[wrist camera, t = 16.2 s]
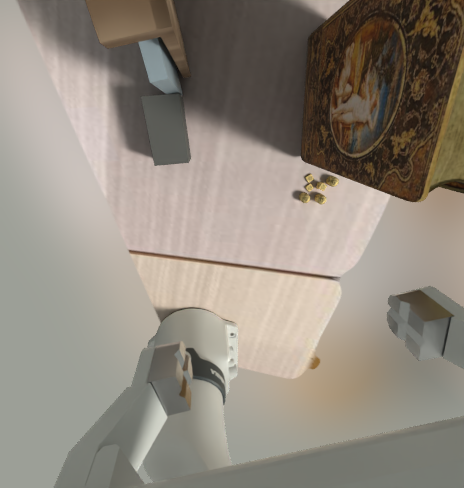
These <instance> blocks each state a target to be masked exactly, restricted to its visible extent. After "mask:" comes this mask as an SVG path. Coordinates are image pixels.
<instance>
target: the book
mask: <svg viewBox="0 0 464 488" xmlns="http://www.w3.org/2000/svg"><path fill="white" fill-rule="evenodd" d="M301 158H302V160H303V161H304V162H306V163H309V164H311V165H314V166H317V167H319V168H322V169H324V170H327V171H330V172H332V173H335V174H337V175H340V176H343V177H345V178H348V179H351V180H353V181H356V182H358V183H361V184H364V185H366V186H369V187H371V188H374V189H377V190H379V191H382V192H385V193H387V194H390V195H392V196H395V197H398V198H400V199H403V200H406V201H410V202H421V201H423V200H425V199H426V197H427V196H428V193H429V192H431V191H432V190H434V189H435V188H437V187H442V188H445V189H449V190H453V191H456V192H460V193H464V0H349V1H348V2H347V3H346V4H345V5H343V6H342V7H341V8H340V9H339V10H338V11H337V12H335V13H334V14H333V15H332V16H331V17H330V18H329V19H328V20H326V21H325V22H324V23H323V24H322V25H321V26H320V27H318V28H317V29H316V30H315V31H314V32H313V33H312V34H311V35H310V36H309V38H308V46H307V62H306V78H305V94H304V109H303V125H302V143H301Z"/></svg>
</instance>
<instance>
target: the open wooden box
mask: <svg viewBox="0 0 464 488" xmlns="http://www.w3.org/2000/svg"><path fill="white" fill-rule="evenodd" d="M85 1H86V4H87V7H88V10H89V13H90V16H91V19H92V22H93V25H94V28H95V31H96V34H97V37H98V39H99V42H100V43H101V44H102V45H103V46H105V47H106V48H107V49H109V48H114V47H118V46H123V45H127V44H132V43H136V42H141V41H145V40H149V39H154V38H158V37H161V38H162V40H163V42H164V43H165V45H166V47H167V49H168V51H169V52H170V54H171V56H172V58H173V60H174V61H175V63H176V65H177V67H178V69H179V71H180V72H181V74H182V76H183V78H187V77H191V74H190V70H189V65H188V61H187V56H186V52H185V47H184V43H183V39H182V34H181V30H180V25H179V21H178V16H177V12H176V8H175V3H174V0H85Z"/></svg>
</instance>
